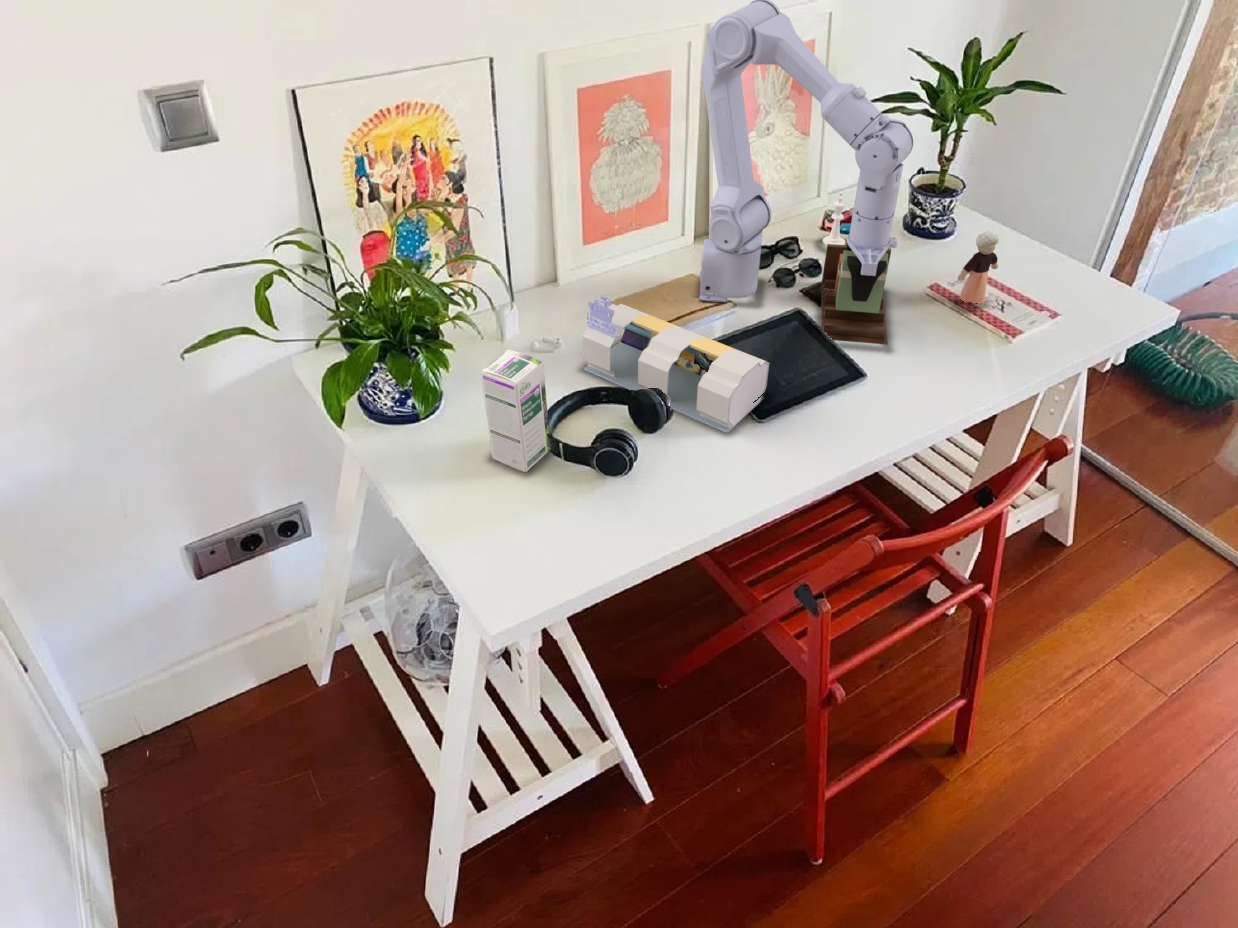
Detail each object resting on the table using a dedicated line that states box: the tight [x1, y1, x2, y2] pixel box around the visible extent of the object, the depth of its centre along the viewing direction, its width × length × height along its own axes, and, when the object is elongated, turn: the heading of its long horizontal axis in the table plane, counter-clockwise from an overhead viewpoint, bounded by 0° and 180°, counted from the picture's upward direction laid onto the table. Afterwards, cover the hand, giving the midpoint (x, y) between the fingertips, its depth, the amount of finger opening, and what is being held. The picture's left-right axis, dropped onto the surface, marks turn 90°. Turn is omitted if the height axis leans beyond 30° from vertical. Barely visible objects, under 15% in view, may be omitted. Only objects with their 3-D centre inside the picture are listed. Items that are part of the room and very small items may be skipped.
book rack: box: [820, 244, 892, 346], centre depth 155 cm, size 10×17×8 cm, turn 171°
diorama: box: [582, 295, 770, 434], centre depth 140 cm, size 25×10×13 cm, turn 53°
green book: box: [836, 250, 889, 313], centre depth 149 cm, size 6×3×8 cm, turn 81°
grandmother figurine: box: [957, 230, 1000, 307], centre depth 156 cm, size 8×4×13 cm, turn 129°
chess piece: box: [822, 191, 846, 246], centre depth 172 cm, size 5×5×10 cm
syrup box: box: [480, 349, 551, 473], centre depth 128 cm, size 6×6×14 cm
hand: (859, 294), depth 150 cm, fingers closed on green book, 3 cm apart
